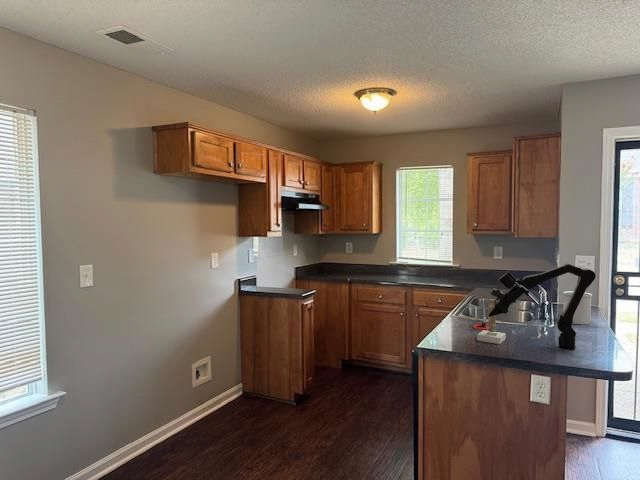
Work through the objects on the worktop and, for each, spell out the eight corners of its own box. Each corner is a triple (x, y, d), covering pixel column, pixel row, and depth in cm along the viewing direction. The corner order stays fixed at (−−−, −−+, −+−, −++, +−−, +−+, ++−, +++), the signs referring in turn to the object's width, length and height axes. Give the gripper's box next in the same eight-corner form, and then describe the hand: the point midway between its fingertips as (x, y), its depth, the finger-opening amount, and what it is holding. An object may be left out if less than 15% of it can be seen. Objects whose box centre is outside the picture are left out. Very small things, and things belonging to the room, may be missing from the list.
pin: (497, 331, 219) (497, 300, 218) (492, 332, 217) (492, 300, 217) (491, 330, 222) (491, 299, 222) (486, 330, 221) (486, 299, 220)
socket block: (505, 339, 221) (505, 333, 221) (500, 344, 212) (500, 338, 212) (483, 335, 228) (483, 330, 228) (477, 340, 219) (477, 334, 219)
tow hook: (485, 331, 238) (492, 327, 245) (485, 308, 237) (492, 305, 244) (470, 329, 244) (477, 325, 251) (470, 306, 243) (477, 303, 250)
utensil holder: (564, 318, 270) (564, 290, 269) (592, 321, 261) (592, 292, 260) (560, 322, 258) (561, 293, 257) (590, 326, 249) (591, 296, 248)
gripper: (500, 280, 226) (477, 300, 230) (501, 285, 209) (476, 306, 213) (516, 296, 223) (493, 316, 228) (518, 303, 206) (493, 324, 211)
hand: (489, 315), depth 220 cm, fingers closed on pin, 4 cm apart
